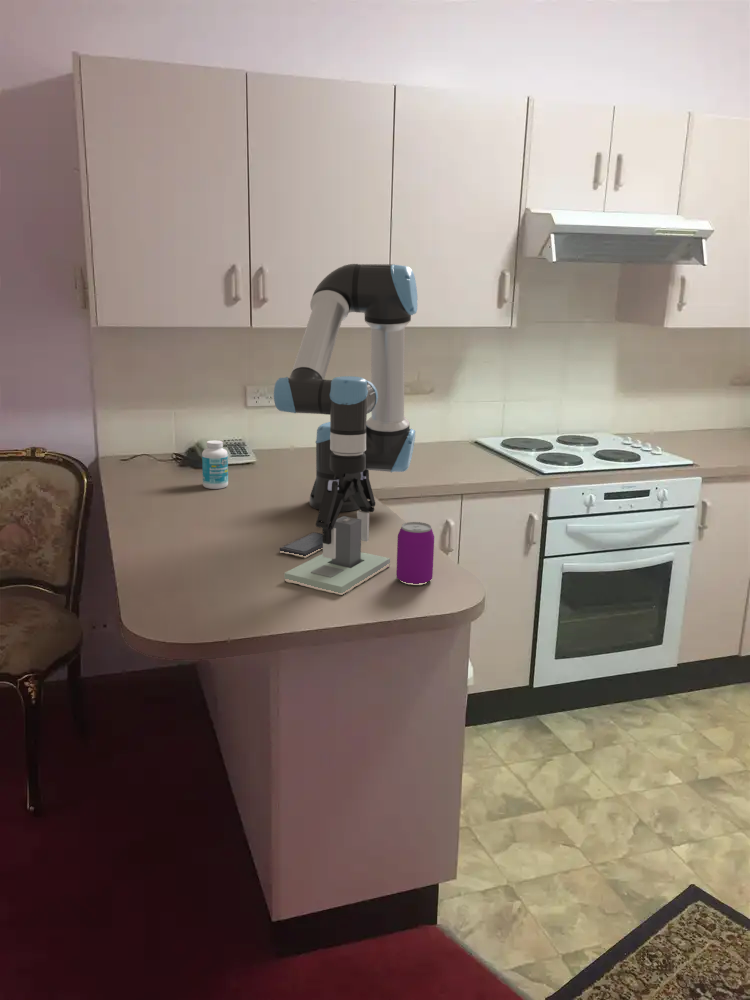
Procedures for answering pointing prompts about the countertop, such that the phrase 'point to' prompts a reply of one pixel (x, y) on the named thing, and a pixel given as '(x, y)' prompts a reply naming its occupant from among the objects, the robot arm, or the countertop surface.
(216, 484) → the pill bottle
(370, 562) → the outlet plate
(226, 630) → the countertop surface
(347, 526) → the brick
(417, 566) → the beverage can
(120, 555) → the countertop surface
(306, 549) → the phone
